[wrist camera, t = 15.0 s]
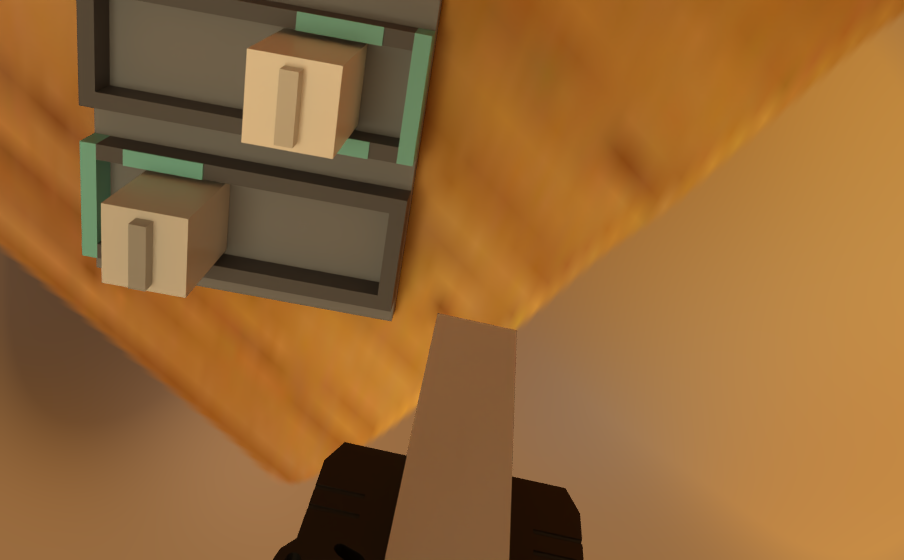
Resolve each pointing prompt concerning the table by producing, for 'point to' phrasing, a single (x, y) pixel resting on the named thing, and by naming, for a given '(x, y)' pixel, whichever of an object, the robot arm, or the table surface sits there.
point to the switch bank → (257, 167)
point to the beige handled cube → (163, 232)
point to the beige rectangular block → (302, 92)
